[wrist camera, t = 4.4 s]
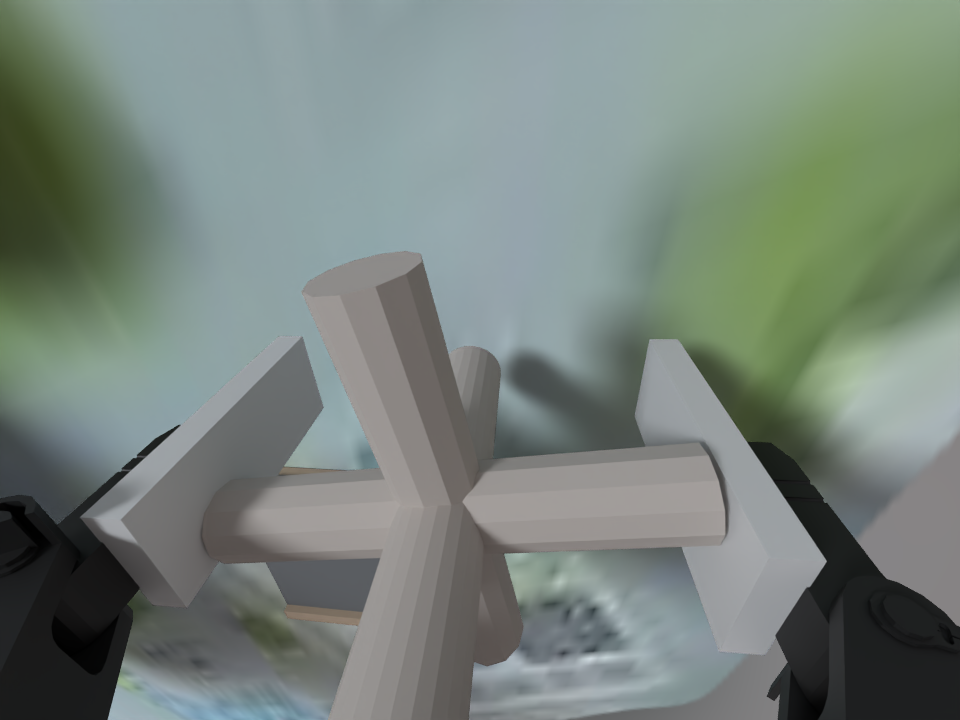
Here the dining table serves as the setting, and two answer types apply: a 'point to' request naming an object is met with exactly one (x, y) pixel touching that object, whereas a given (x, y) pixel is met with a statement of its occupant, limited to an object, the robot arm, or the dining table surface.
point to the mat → (324, 582)
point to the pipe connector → (443, 499)
